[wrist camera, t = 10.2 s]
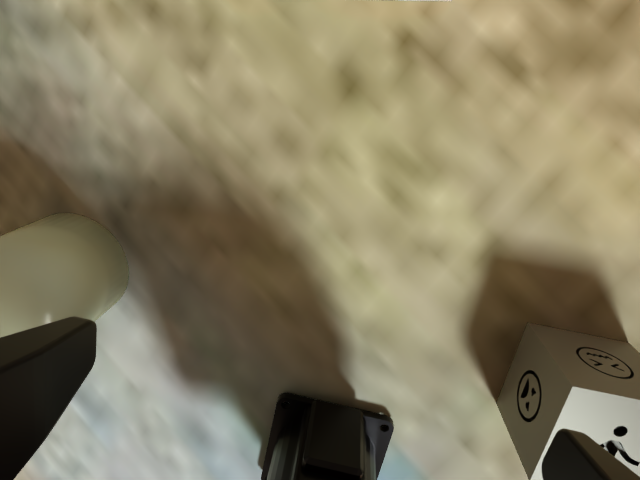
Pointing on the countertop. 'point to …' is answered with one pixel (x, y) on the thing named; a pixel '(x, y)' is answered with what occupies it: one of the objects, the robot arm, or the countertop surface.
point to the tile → (425, 0)
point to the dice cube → (572, 394)
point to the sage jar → (58, 272)
